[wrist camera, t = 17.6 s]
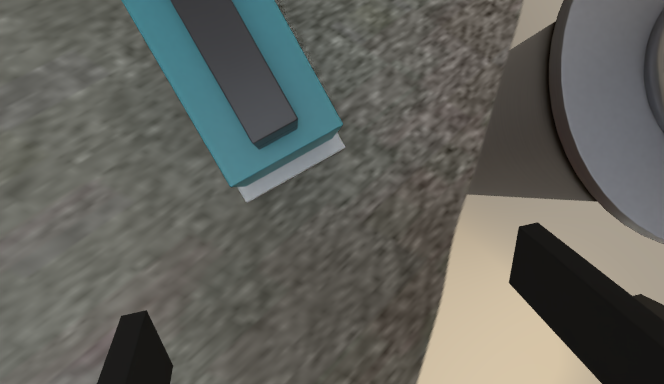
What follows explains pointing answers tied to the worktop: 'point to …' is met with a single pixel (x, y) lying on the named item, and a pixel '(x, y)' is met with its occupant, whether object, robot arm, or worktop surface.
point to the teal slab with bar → (242, 87)
